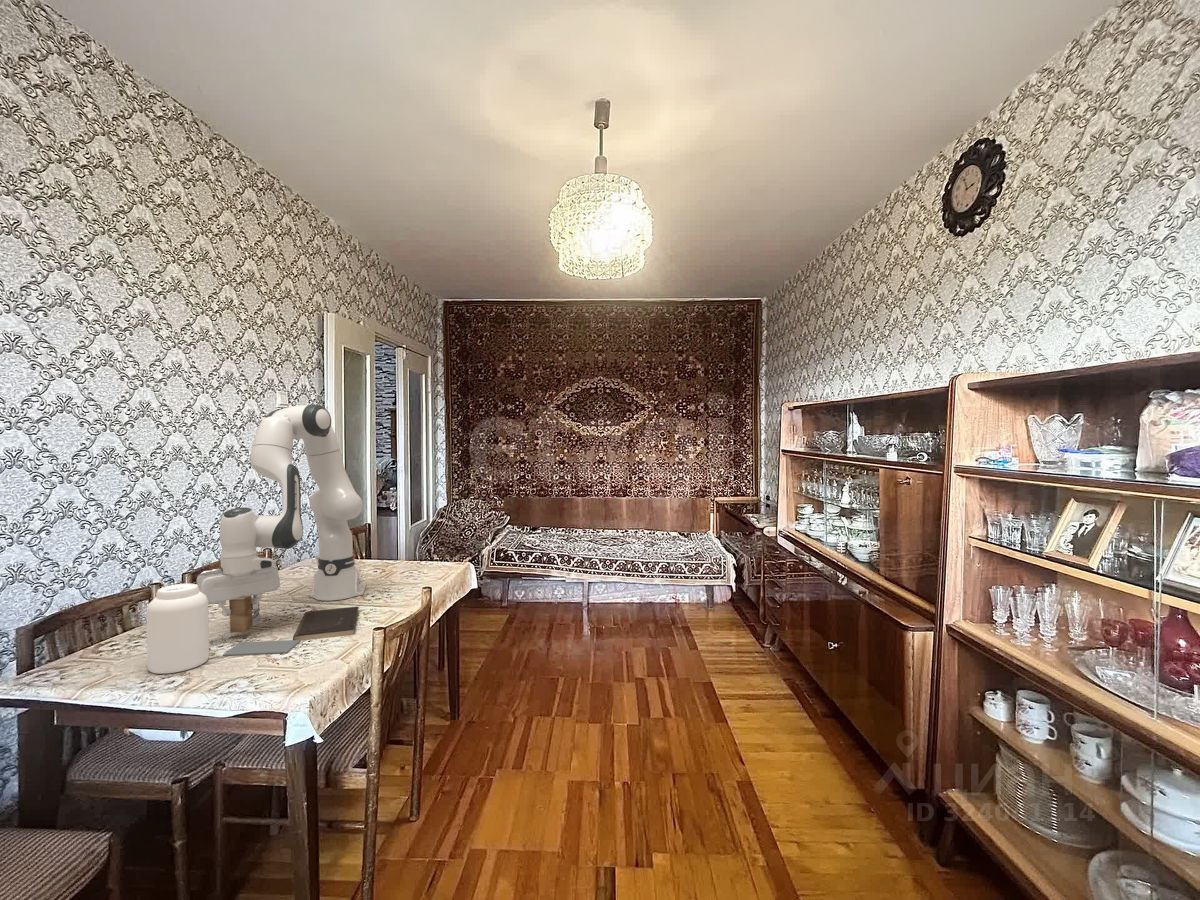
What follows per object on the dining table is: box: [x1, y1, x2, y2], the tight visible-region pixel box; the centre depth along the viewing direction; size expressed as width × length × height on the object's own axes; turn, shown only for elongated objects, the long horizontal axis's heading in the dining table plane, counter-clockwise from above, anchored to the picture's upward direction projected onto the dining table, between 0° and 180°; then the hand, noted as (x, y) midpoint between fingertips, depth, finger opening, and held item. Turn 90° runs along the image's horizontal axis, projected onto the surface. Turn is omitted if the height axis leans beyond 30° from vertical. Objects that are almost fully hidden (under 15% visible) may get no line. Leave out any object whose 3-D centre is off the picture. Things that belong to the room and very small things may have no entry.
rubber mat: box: [222, 639, 302, 657], centre depth 153 cm, size 9×16×1 cm, turn 98°
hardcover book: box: [292, 605, 360, 641], centre depth 172 cm, size 16×23×2 cm
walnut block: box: [228, 595, 254, 634], centre depth 162 cm, size 4×4×10 cm
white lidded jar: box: [146, 582, 210, 675], centre depth 142 cm, size 12×12×20 cm
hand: (241, 612), depth 162 cm, fingers closed on walnut block, 6 cm apart
